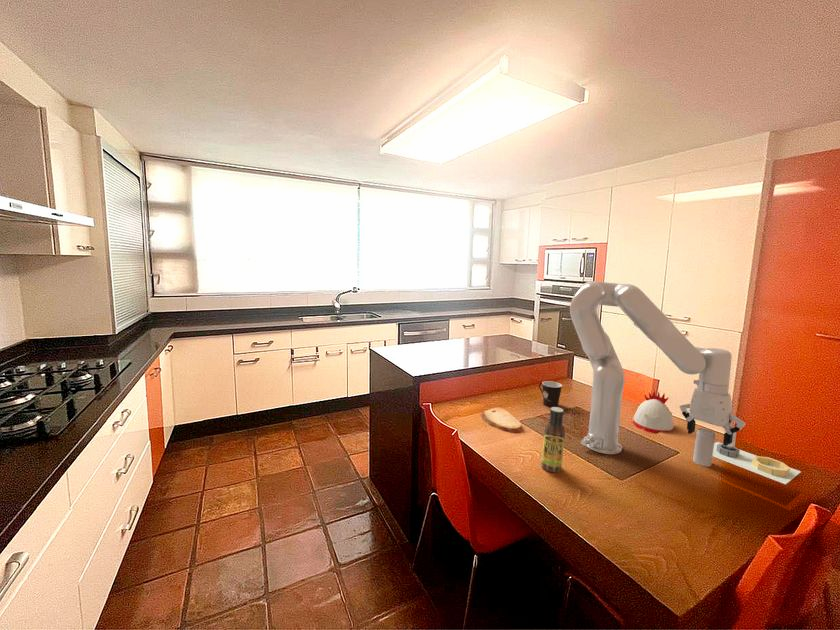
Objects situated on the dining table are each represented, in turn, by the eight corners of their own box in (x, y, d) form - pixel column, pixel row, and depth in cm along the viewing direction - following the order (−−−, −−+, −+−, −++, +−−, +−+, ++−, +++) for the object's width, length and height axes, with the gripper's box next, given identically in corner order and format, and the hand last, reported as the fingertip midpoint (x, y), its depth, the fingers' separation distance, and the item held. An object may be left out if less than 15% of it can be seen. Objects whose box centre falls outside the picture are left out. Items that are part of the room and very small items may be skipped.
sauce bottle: (540, 470, 114) (544, 410, 111) (541, 460, 120) (545, 403, 117) (562, 475, 112) (566, 414, 109) (562, 465, 118) (566, 406, 115)
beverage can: (711, 471, 115) (716, 436, 114) (693, 466, 118) (697, 432, 116) (709, 464, 119) (714, 430, 118) (691, 460, 122) (696, 426, 120)
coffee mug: (563, 408, 165) (564, 387, 163) (544, 408, 165) (545, 387, 163) (554, 399, 176) (555, 379, 175) (536, 398, 176) (537, 379, 175)
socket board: (784, 488, 107) (786, 478, 107) (698, 454, 126) (700, 445, 126) (800, 475, 114) (802, 465, 114) (717, 444, 133) (718, 436, 133)
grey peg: (731, 456, 123) (734, 434, 122) (720, 452, 125) (723, 430, 124) (734, 454, 124) (738, 432, 123) (724, 450, 127) (727, 428, 126)
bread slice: (523, 435, 139) (523, 426, 138) (476, 427, 145) (477, 418, 144) (525, 416, 156) (526, 408, 155) (483, 410, 161) (484, 402, 161)
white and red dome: (672, 437, 138) (676, 400, 136) (630, 427, 146) (634, 392, 144) (673, 425, 149) (678, 390, 147) (635, 416, 157) (639, 383, 155)
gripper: (676, 382, 120) (672, 431, 123) (742, 397, 106) (736, 452, 108) (687, 378, 124) (683, 426, 126) (752, 393, 109) (747, 446, 111)
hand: (708, 438), depth 117 cm, fingers open, 9 cm apart
